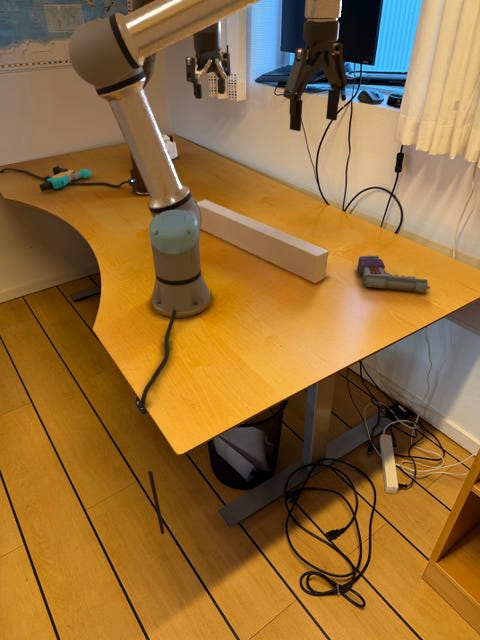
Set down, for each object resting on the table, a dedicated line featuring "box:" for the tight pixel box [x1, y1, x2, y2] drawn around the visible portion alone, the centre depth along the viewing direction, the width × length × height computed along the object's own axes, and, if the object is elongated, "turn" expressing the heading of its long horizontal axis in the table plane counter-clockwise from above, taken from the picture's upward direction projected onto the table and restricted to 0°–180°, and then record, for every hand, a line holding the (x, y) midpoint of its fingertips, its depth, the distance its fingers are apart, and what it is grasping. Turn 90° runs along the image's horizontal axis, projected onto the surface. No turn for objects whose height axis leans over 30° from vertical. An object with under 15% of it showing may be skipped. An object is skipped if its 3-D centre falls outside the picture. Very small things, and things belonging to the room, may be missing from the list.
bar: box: [196, 199, 329, 284], centre depth 147 cm, size 52×5×8 cm, turn 44°
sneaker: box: [161, 133, 179, 161], centre depth 214 cm, size 10×29×12 cm, turn 163°
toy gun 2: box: [356, 254, 431, 293], centre depth 132 cm, size 4×19×15 cm
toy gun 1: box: [39, 165, 92, 193], centre depth 197 cm, size 4×26×15 cm
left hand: (210, 96), depth 135 cm, fingers open, 8 cm apart
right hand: (313, 124), depth 114 cm, fingers open, 13 cm apart
